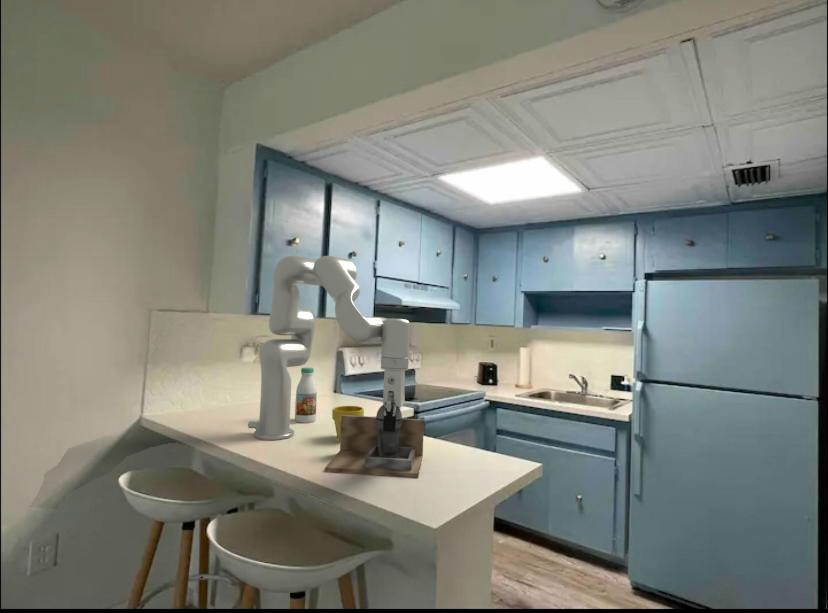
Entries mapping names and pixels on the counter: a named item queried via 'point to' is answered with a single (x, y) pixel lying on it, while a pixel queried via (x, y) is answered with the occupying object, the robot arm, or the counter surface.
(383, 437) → the beverage cup
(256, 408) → the counter surface
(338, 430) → the plant pot
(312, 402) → the milk bottle
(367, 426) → the cup bracket
